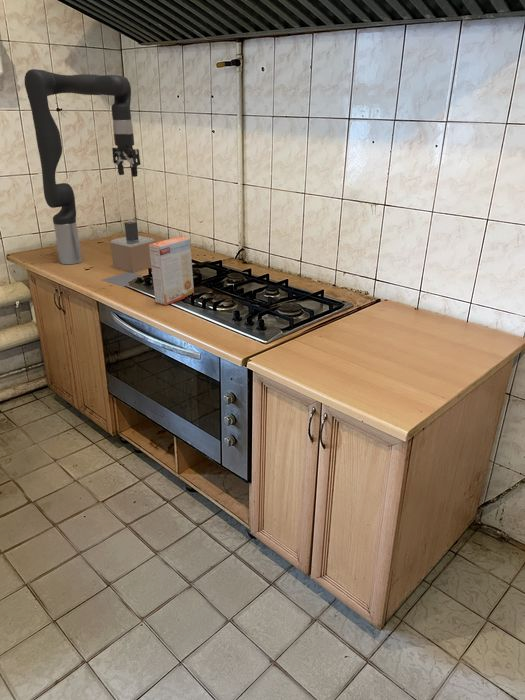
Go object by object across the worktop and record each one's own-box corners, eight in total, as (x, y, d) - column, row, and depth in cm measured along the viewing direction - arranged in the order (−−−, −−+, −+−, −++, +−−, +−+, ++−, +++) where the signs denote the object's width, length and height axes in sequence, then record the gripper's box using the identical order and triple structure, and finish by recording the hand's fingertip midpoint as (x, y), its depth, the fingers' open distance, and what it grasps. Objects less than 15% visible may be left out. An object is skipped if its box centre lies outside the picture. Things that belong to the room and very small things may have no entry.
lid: (111, 242, 221) (108, 223, 217) (134, 237, 229) (132, 218, 226) (130, 247, 213) (128, 227, 210) (154, 241, 222) (152, 221, 219)
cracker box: (183, 292, 196) (179, 235, 187) (194, 295, 192) (191, 238, 184) (153, 302, 186) (148, 243, 177) (165, 306, 183) (159, 246, 174)
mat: (101, 280, 209) (100, 279, 209) (129, 272, 219) (129, 271, 219) (123, 287, 201) (123, 286, 201) (151, 278, 211) (151, 277, 211)
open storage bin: (113, 268, 225) (110, 242, 220) (137, 261, 234) (135, 236, 230) (133, 273, 218) (130, 247, 213) (157, 266, 227) (155, 241, 222)
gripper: (104, 132, 209) (109, 175, 216) (127, 133, 201) (131, 178, 208) (120, 131, 215) (124, 173, 222) (142, 132, 206) (146, 176, 213)
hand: (128, 175), depth 215 cm, fingers open, 8 cm apart
